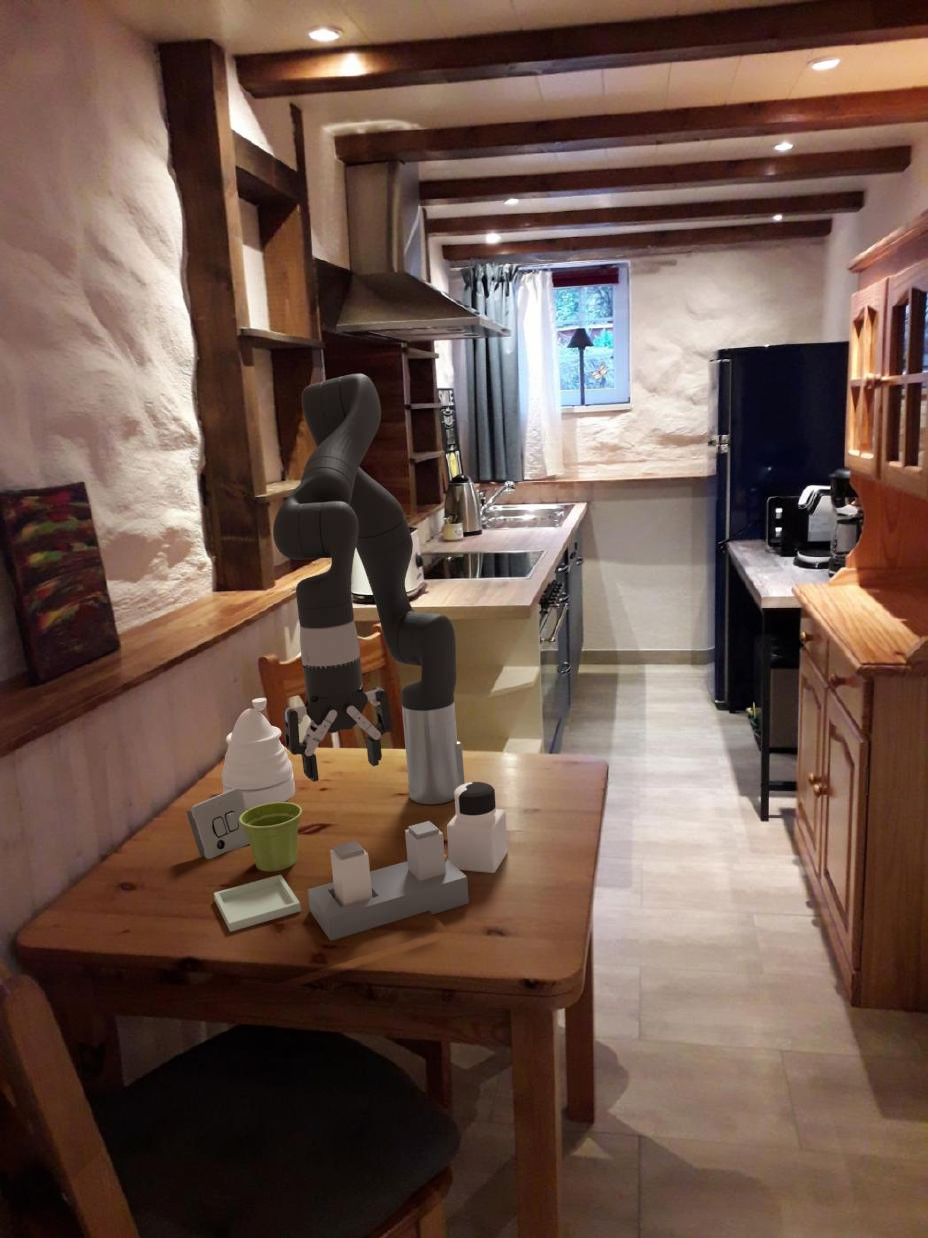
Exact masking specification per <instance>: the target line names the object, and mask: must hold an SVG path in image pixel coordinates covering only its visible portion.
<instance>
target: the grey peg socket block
mask: <svg viewBox="0 0 928 1238" xmlns="http://www.w3.org/2000/svg"><path fill="white" fill-rule="evenodd" d="M404 831H405V832H404V835H405V836H404V837H405V845H406V855H407V857H406V858H407V860H406V861H403V862H399V863H397V864H396V863H395V864H392V865H389V866H385V867H382V868H378V869H375V870H374V869H373V870H371V871H370V877H371V888H372V898H370V899H367V900H363V901H360V902H357V903H353V904H350V905H346V906H343V907H340V906H339V904H338V903H337V902H336V901H335V893H334V883H333V881H331V882H328V883H326V884H322V885H319V886H318V885H317V886H314V887H312V888H307V898H308V905H309V911H310V913H311V915H312V916H313V918H314V919H315V920H316V922H317V923H318V924H319V926H320V927H321V929H322V931H323V932H324V933H325V935H326V936H327V938H328V939H329V941H330V942H333V941H336V940H338V939H343V938H345V937H348V936H351V935H354V934H359V933H361V932H364V931H369V930H371V929H373V928H377V927H380V926H384V925H387V924H390V923H393V922H396V921H401V920H403V919H405V918H406V919H407V918H410V917H413V916H415V915H418V914H422V913H426V912H428V911H429V912H430V913H431V914H432V915H435V914H438V913H442V912H445V911H448V910H452V909H454V908H458V907H462V906H465V905H467V904H469V903H470V902H469V890H468V888H469V886H468V877H467V875H465V873H464V872H462V870H459V869H458V868H457V867H456V866H455V865H453V864H452V863H451V862H450V861H449V858H447V855H446V853H445V842H444V833H443V832H442V831H441V830H440V829H439V828H438V827H437V826H436V825H434V824H433V823H432V821H430V820H427V821H424V822H420V823H415V824H412V825H409V826H408V828H407V829H405V830H404Z"/></svg>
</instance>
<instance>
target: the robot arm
mask: <svg viewBox="0 0 928 1238" xmlns="http://www.w3.org/2000/svg"><path fill="white" fill-rule="evenodd" d="M301 406H302V407H301V408H302V412H303V415H304V418H305V419H304V420H305V423H306V425H307V428H308V429H309V431H310V434H311V438H312V440H313V441H314V443H315V446H316V448H315V449H313V452H312V453H311V454H310V455H309V458H308V459H307V461H306V463H305V466H304V467H303V468H304V469H303V472H302V476H301V479H300V483H299V484H298V486H297V487H296V488H295V489H294V490H293V491H292V492H291V493H290V495H289V496H288V497H287V498H286V499H285V501H284V502H283V503H282V504H281V505H280V507H279V509H278V511H277V514H276V516H275V519H274V521H273V526H272V527H273V529H272V532H273V533H272V536H273V541H274V544H275V547H276V549H277V550H278V551H279V553H280V554H281V555H283V557H286V558H287V559H290V560H295V561H299V560H301V561H302V560H313V559H328V558H329V559H331V565H330V568H329V569H328V570H327V571H325V572H323V573H320V574H316V575H312V576H308V577H306V578H303V579H302V580H300V581H299V582H298V583H297V585H296V588H295V597H296V604H297V605H296V606H297V612H298V613H297V614H298V622H299V645H300V646H299V647H300V653H301V654H300V655H301V656H300V657H301V663H302V664H301V665H302V672H303V681H304V688H305V696H306V700H305V703H304V705H302V706H296V707H292V706H290V705H287V706H286V705H285V706H284V708H283V711H282V712H283V724H284V725H283V728H284V741H285V749H287V750H288V751H289V752H290V754H291V755H293V756H296V755H301V762H302V766H303V767H302V768H303V773H304V775H305V777H307V778H308V779H310V781H311V782H313V783H315V782H318V781H319V777H320V776H319V771H318V770H319V769H318V761H317V755H316V754H315V751H316V749H317V748H318V745H320V743H321V742H322V741H323V739H325V736H326V734H327V733H329V734H330V735H331V734H335V733H337V732H339V731H341V730H343V731H344V730H345V731H346V730H351V729H353V727H355V725H357V726H358V727H359V728H360V729H361V730H362V731H363V732H364V733H366V734H367V736H365V743H366V753H367V760H368V763H369V764H370V765H371V766H372V767H375V766H376V767H377V766H379V764H380V763H379V762H380V761H382V756H383V755H382V746H381V738H382V736H383V735H384V734H386V733H390V732H392V731H393V729H394V728H393V721H392V713H391V709H390V703H389V695H388V692H387V691H386V690H385V689H383V688H382V687H381V686H378V685H377V686H373V688H372V690H369V691H366V692H365V690H364V682H363V674H362V673H363V672H362V671H363V670H362V663H361V662H362V661H361V655H360V654H361V653H360V652H361V647H360V646H361V645H360V643H359V636H358V631H357V628H356V623H355V615H354V606H353V597H352V572H353V565H354V560H355V559H354V558H355V553H356V552H357V555H358V557H359V559H360V561H361V564H362V566H363V569H364V572H365V575H366V578H367V581H368V584H369V586H370V590H371V593H372V596H373V599H374V602H375V606H376V610H377V614H378V618H379V623H380V627H381V631H382V636H383V639H384V642H385V646H386V648H387V651H388V652H389V654H390V656H391V658H393V659H394V660H395V662H398V663H400V664H404V665H411V666H419V667H421V668H420V670H421V671H420V673H421V674H420V675H421V676H420V677H421V678H420V680H417V681H414V682H411V683H408V684H407V685H405V686H403V688H402V689H401V692H400V698H401V709H402V710H401V712H402V722H403V734H404V745H405V757H406V769H407V781H408V783H407V784H408V790H409V791H408V792H409V799H411V801H412V802H415V803H417V804H421V805H440V804H445V803H448V802H452V801H455V796H454V792H455V790H456V789H457V788H458V787H459V786H461V785H463V784H466V783H465V770H464V768H465V766H464V757H463V756H464V754H463V743H462V742H461V741H459V740H458V735H457V733H458V732H457V720H456V711H455V710H456V707H455V689H456V683H457V659H456V658H457V654H456V653H457V652H456V651H457V647H456V646H457V645H456V634H455V629H454V625H453V622H452V621H451V620H450V618H449V617H448V616H447V615H444V614H442V613H433V612H432V613H431V612H419V611H415V610H414V609H413V607H412V605H411V602H410V600H409V599H410V598H409V597H408V593H407V589H406V577H407V573H408V571H409V566H410V564H411V560H412V555H413V549H414V543H413V538H412V533H411V529H410V526H409V524H408V521H407V518H406V515H405V512H404V509H403V507H402V505H401V503H400V502H399V500H398V499H397V498H396V497H395V496H394V495H393V494H391V492H389V491H388V490H387V489H386V488H385V487H383V486H382V485H381V484H379V482H378V481H376V480H375V479H374V478H372V477H371V476H370V475H369V474H368V473H366V472H365V471H364V470H363V468H361V467H360V465H361V463H362V461H363V459H364V457H365V456H366V455H367V454H366V453H367V452H368V450H369V447H371V444H372V441H373V440H374V438H375V437H376V435H377V433H378V430H379V427H380V424H381V419H382V407H381V402H380V398H379V394H378V391H377V388H376V387H375V384H374V383H373V380H372V379H371V378H370V377H369V376H367V375H365V374H363V373H351V374H347V375H344V376H338V377H334V378H331V379H327V380H324V381H319V382H316V383H312V384H310V385H307V386H306V387H305V388H303V390H302V393H301ZM368 702H370V704H371V705H372V706H374V710H375V715H376V720H377V721H376V722H377V723H375V724H374V725H373V724H372V723H371V722H370V721H369V719H368V718H366V717H365V716H364V715H363V713H364V711H365V709H366V706H367V705H368ZM304 716H308V718H309V719H310V722H309V724H308V726H307V728H306V730H305V734H304V737H303V738H302V740H301V742H300V731H299V730H300V727H299V725H300V724H302V722H303V719H304Z"/></svg>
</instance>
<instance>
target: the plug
mask: <svg viewBox="0 0 928 1238" xmlns="http://www.w3.org/2000/svg"><path fill="white" fill-rule="evenodd" d="M329 852H330V854H329V855H330V862H331V871H332V873H331V874H332V882H333V883H334V893H335V901H336V902H337V903H338V904H339V906H340V907H343V906H346V905H350V904H353V903H357V902H360V901H363V900H367V899H370V898H372V888H371V877H370V872H371V871H370V870H371V869H370V858H369V853H368V852H367V851H366V850H365V849H364V848H363V847H362V846H361V844H360V843H359V842H358V841H357V840H353V841H349V842H345V843H342V844H338V845H337V844H336V845H334V846H333V849H329Z"/></svg>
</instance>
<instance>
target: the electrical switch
mask: <svg viewBox="0 0 928 1238" xmlns="http://www.w3.org/2000/svg"><path fill="white" fill-rule="evenodd" d="M245 811H247V808H246V804H245V801H244V798H243V794H242V791H241V790H240V789H238V788H234V789H231V790H229V791H227V792H224V793H220V794H218V795H215V796H213V797H211V798H208V799H206V800H204V801H201V802H198V803H197V804H194V805H192V807H191V808H190V809H187V810H186V814H187V818H188V822H189V824H190V829H191V831H192V834H193V838H194V840H195V843H196V848H197V851H198V853H199V856H200V857H202V858H203V857H204V858H205V859H206V860H211V859H214V858H216V857H218V856H220V855H222V854H224V853H226V852H228V853H229V852H230V851H235V850H239V849H241V848H243V847H246V846H248V845H250V843H249V839H248V836H247V833H246V832H245V830H244V827H243V825H241V823H240V821H239V818H240V816H241V814H242V813H244V812H245Z"/></svg>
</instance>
